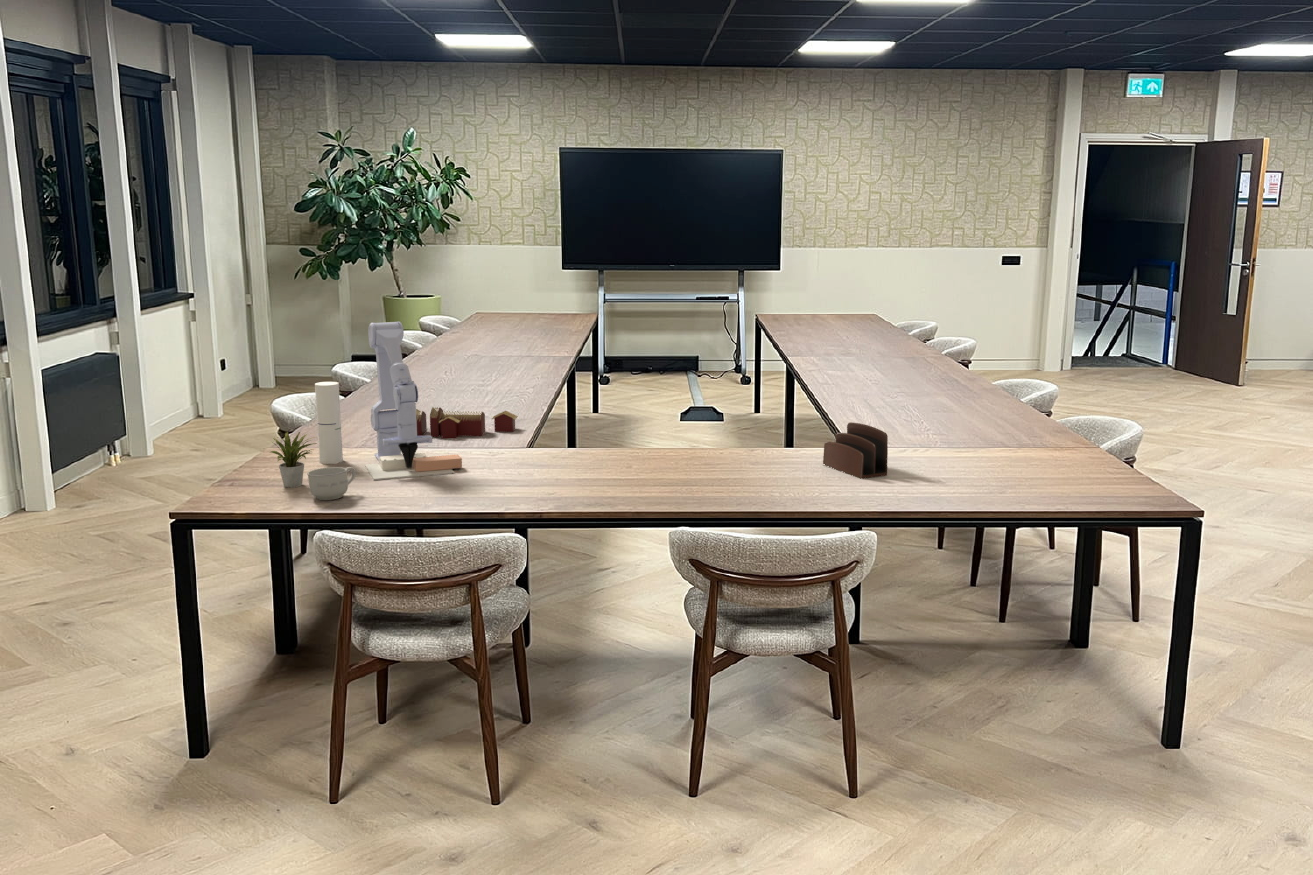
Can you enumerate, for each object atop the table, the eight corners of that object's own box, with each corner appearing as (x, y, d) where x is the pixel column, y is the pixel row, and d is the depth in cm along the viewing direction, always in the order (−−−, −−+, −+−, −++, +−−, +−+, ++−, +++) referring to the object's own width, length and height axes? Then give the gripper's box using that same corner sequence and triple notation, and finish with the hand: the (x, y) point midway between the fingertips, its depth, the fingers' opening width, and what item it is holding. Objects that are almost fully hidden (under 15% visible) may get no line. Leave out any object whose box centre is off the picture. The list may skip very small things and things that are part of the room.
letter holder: (847, 462, 362) (849, 419, 359) (887, 476, 345) (889, 430, 342) (822, 465, 358) (823, 421, 355) (861, 479, 341) (863, 433, 338)
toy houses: (382, 438, 394) (380, 410, 391) (396, 426, 414) (395, 399, 411) (511, 439, 393) (510, 411, 391) (519, 427, 413) (518, 400, 411)
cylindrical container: (316, 460, 360) (311, 383, 355) (337, 457, 364) (333, 380, 359) (324, 464, 355) (319, 386, 349) (346, 461, 359) (342, 384, 353)
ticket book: (379, 466, 351) (379, 456, 351) (424, 462, 357) (424, 452, 356) (382, 470, 346) (382, 460, 345) (428, 466, 351) (428, 456, 351)
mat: (364, 466, 353) (364, 464, 353) (441, 459, 362) (441, 458, 362) (373, 480, 336) (373, 478, 336) (454, 473, 345) (454, 471, 345)
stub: (413, 467, 349) (412, 458, 348) (458, 463, 354) (457, 454, 353) (416, 471, 344) (416, 462, 343) (462, 467, 349) (461, 458, 348)
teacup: (316, 505, 310) (315, 476, 308) (303, 496, 318) (301, 468, 317) (365, 497, 318) (364, 469, 316) (351, 489, 327) (349, 462, 325)
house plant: (302, 494, 321) (298, 437, 317) (257, 491, 324) (253, 435, 320) (326, 481, 335) (323, 427, 331) (283, 479, 337) (279, 425, 334)
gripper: (384, 427, 336) (386, 472, 339) (433, 424, 342) (435, 468, 345) (381, 423, 343) (383, 467, 346) (428, 420, 348) (430, 462, 351)
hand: (408, 467), depth 346 cm, fingers closed
